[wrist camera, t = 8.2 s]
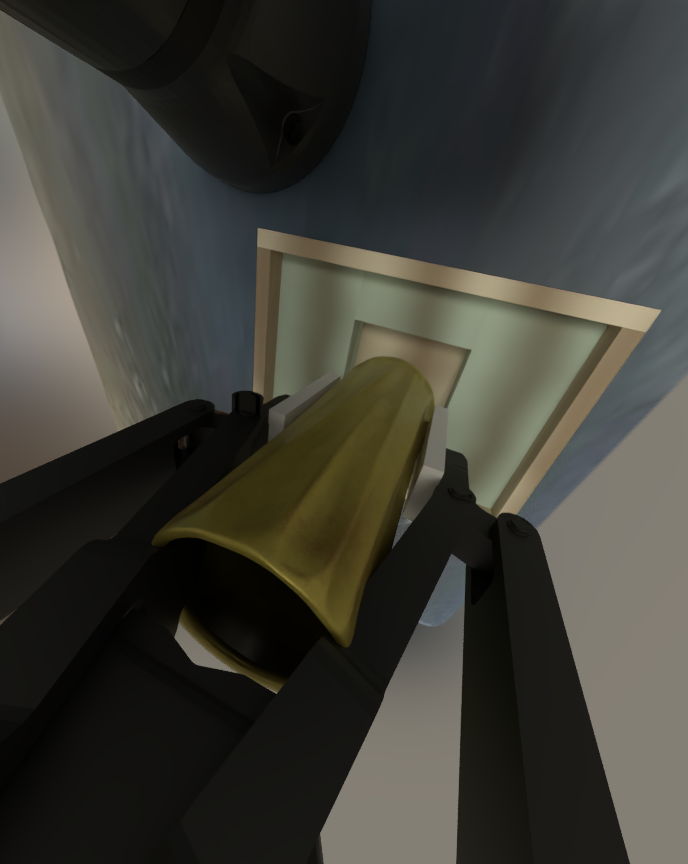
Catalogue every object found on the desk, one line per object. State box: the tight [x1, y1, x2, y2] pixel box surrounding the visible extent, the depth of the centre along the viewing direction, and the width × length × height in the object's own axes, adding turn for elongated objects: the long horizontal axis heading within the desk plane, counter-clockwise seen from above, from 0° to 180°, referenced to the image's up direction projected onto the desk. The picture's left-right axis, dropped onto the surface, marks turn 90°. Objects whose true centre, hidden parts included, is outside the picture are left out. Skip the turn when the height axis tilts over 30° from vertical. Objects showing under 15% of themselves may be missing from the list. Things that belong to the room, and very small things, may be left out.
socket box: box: [253, 228, 662, 518], centre depth 21 cm, size 22×16×5 cm
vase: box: [152, 356, 434, 693], centre depth 12 cm, size 6×6×14 cm
